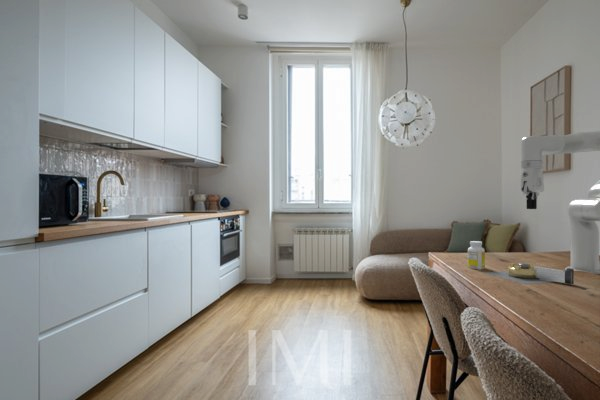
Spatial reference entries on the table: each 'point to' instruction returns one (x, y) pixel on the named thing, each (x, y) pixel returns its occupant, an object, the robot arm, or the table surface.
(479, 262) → the supplement bottle
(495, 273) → the base plate
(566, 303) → the table surface
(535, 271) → the multicoloured piece
